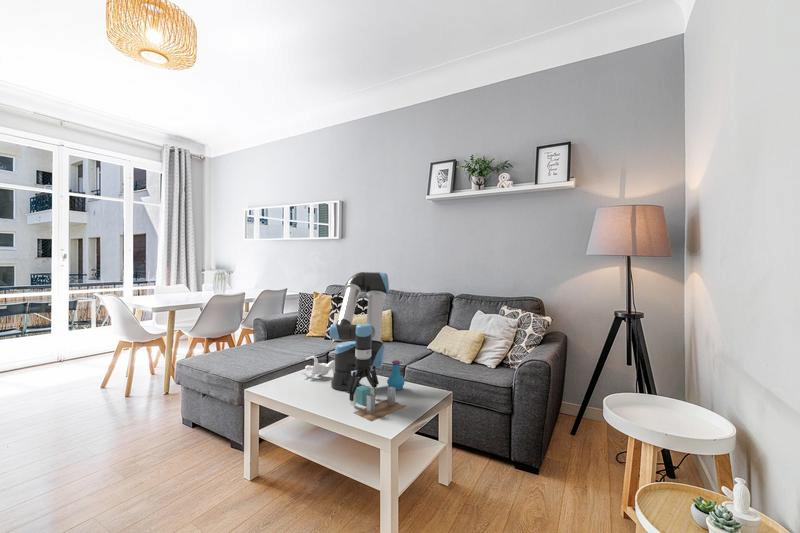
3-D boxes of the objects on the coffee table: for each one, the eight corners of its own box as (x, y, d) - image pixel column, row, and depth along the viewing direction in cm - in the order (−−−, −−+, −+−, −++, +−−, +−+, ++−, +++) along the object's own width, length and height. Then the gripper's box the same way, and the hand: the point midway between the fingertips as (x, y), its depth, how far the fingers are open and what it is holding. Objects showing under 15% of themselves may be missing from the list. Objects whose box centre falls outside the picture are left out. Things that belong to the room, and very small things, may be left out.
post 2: (387, 405, 168) (387, 387, 168) (391, 403, 170) (391, 386, 170) (391, 406, 167) (391, 389, 167) (395, 405, 169) (395, 387, 168)
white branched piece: (328, 353, 221) (306, 354, 206) (343, 361, 213) (321, 363, 198) (322, 373, 220) (299, 376, 206) (336, 382, 213) (314, 385, 198)
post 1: (366, 413, 159) (366, 395, 159) (370, 411, 161) (371, 393, 161) (370, 415, 157) (370, 396, 157) (374, 413, 159) (375, 395, 159)
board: (352, 415, 159) (352, 412, 159) (388, 401, 176) (388, 399, 176) (371, 423, 151) (371, 421, 151) (406, 408, 167) (406, 406, 167)
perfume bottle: (402, 393, 186) (403, 364, 186) (385, 391, 188) (385, 363, 187) (405, 387, 195) (406, 359, 195) (389, 385, 197) (389, 358, 196)
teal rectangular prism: (354, 404, 171) (354, 388, 171) (363, 401, 175) (363, 385, 175) (362, 407, 168) (362, 390, 168) (370, 404, 172) (370, 388, 171)
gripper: (349, 364, 160) (348, 413, 160) (386, 354, 177) (385, 399, 178) (338, 360, 165) (337, 408, 165) (375, 351, 182) (375, 395, 183)
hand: (362, 403), depth 171 cm, fingers open, 11 cm apart
